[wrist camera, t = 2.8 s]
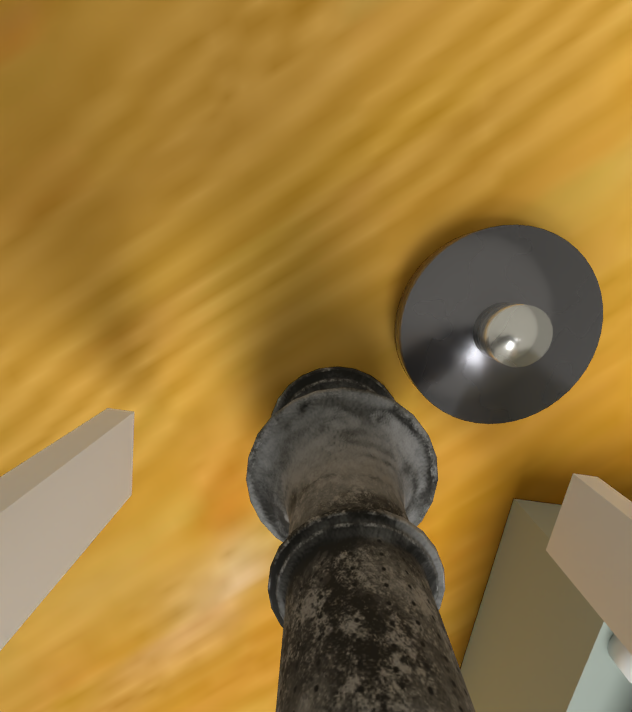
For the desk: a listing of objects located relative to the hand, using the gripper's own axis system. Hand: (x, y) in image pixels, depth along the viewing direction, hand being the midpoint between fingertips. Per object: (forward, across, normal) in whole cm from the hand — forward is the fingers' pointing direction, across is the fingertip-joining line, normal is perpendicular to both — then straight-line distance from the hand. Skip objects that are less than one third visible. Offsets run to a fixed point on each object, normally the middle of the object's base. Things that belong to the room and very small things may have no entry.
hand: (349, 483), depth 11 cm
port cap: (+4, +5, +5) cm, 8 cm away
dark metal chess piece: (+4, 0, 0) cm, 4 cm away
